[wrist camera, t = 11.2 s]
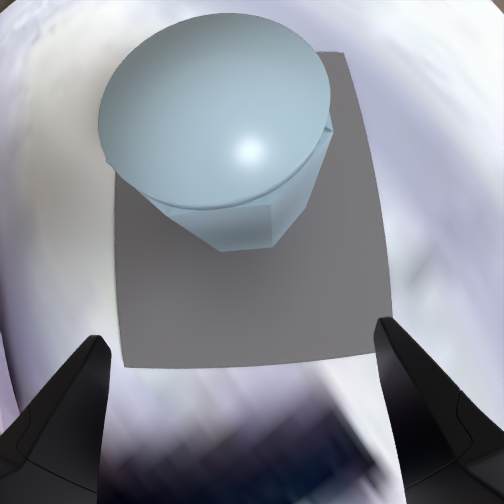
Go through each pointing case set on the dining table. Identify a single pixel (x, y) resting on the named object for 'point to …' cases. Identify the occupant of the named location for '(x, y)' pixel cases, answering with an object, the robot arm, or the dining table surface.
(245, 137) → the dome-topped octagonal prism
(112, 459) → the dining table surface
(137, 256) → the placemat
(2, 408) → the fruit bowl
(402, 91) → the dining table surface
